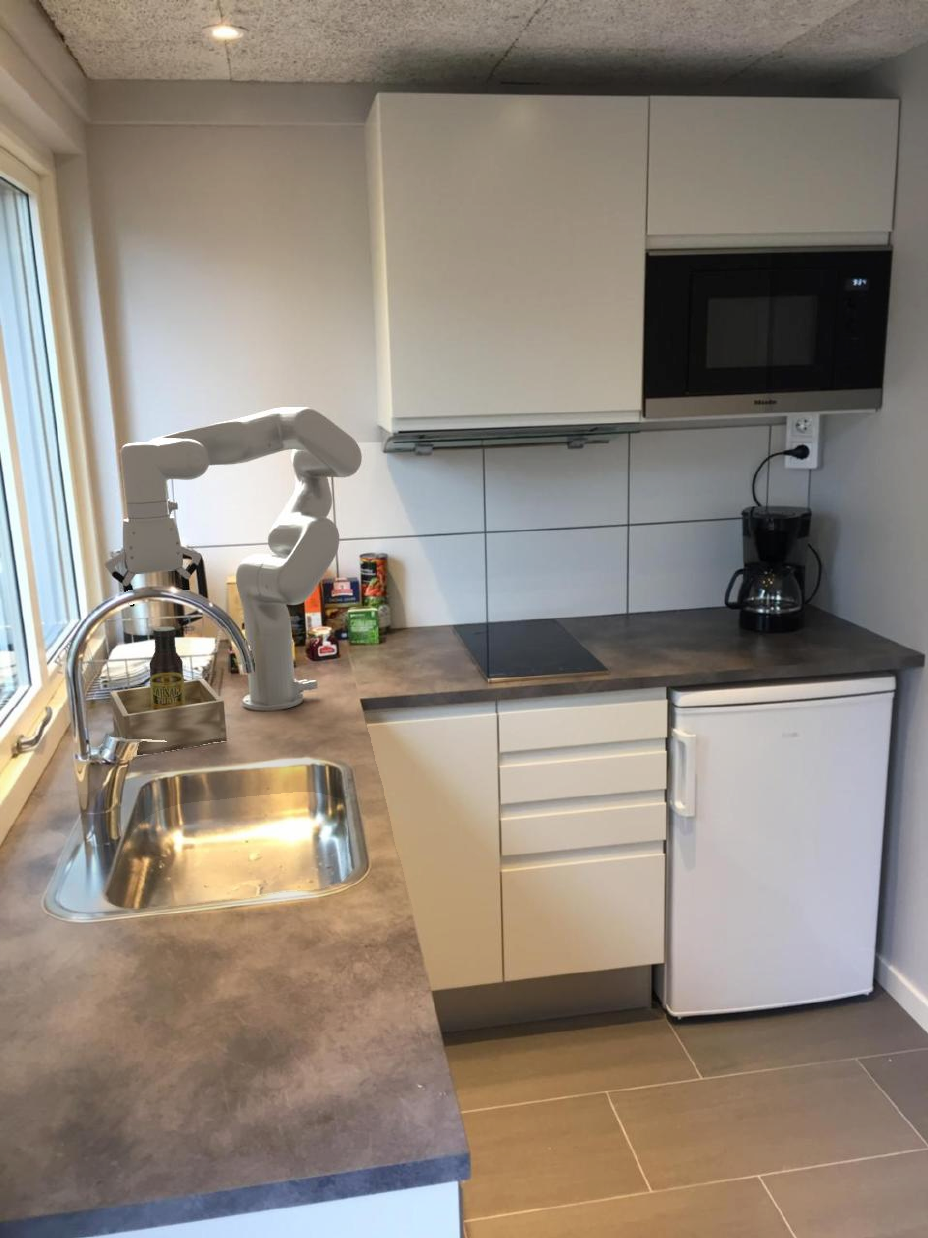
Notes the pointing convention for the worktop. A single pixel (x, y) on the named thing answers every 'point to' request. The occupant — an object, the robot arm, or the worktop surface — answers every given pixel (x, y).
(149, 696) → the crate
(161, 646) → the sauce bottle
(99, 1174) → the worktop surface
